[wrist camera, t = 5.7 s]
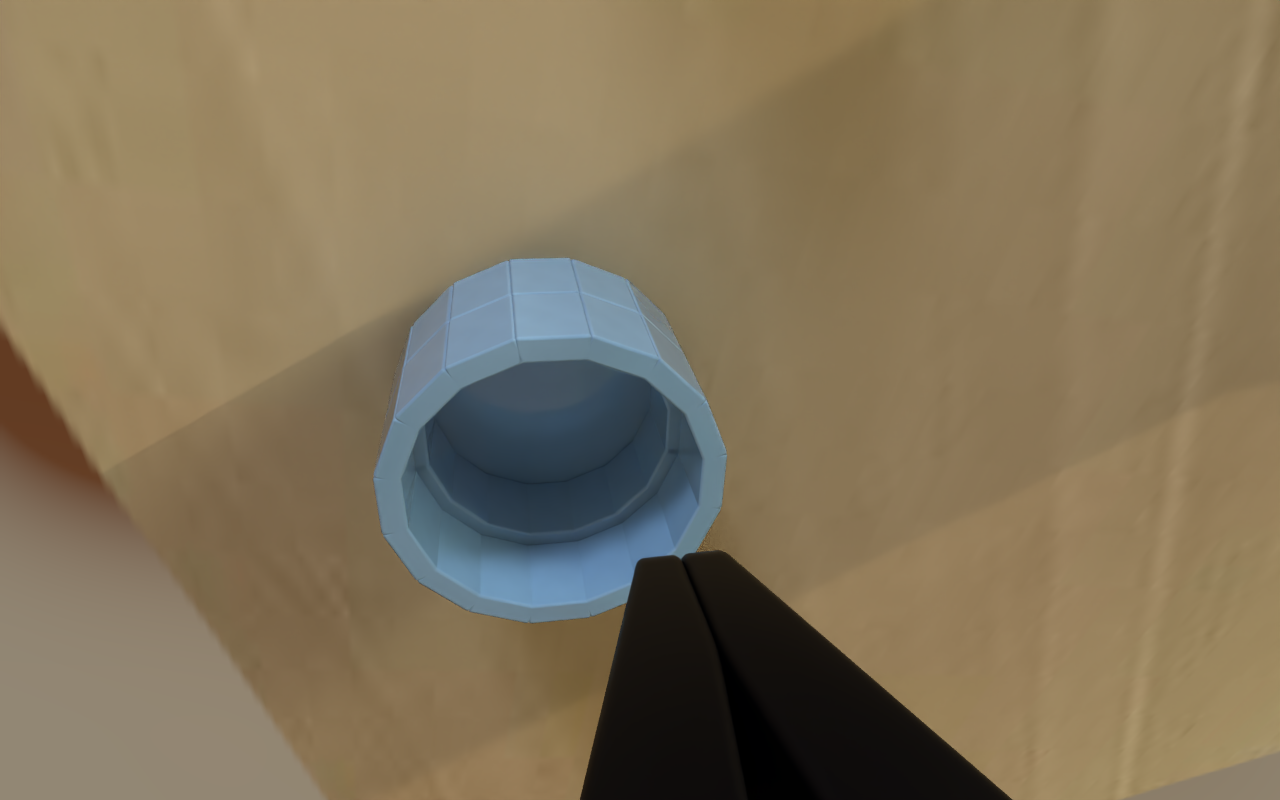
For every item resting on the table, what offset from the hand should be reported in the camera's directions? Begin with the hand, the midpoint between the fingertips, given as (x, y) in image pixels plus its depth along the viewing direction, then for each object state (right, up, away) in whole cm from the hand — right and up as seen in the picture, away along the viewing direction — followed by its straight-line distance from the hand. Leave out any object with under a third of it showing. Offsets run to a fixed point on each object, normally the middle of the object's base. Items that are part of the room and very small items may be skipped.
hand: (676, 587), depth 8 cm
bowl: (-3, +2, +11) cm, 12 cm away
